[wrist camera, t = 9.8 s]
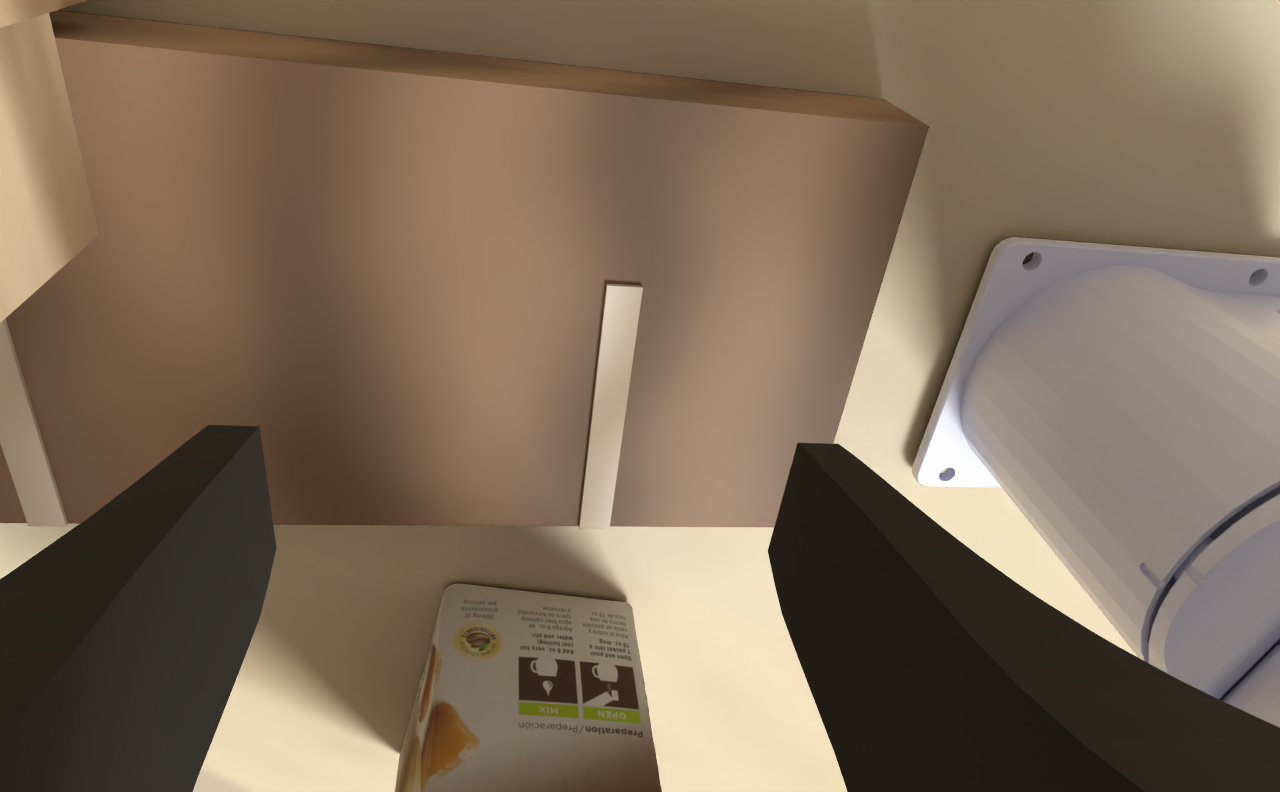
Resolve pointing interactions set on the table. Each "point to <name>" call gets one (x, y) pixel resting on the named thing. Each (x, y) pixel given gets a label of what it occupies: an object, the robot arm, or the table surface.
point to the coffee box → (529, 698)
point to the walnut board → (448, 282)
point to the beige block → (37, 156)
